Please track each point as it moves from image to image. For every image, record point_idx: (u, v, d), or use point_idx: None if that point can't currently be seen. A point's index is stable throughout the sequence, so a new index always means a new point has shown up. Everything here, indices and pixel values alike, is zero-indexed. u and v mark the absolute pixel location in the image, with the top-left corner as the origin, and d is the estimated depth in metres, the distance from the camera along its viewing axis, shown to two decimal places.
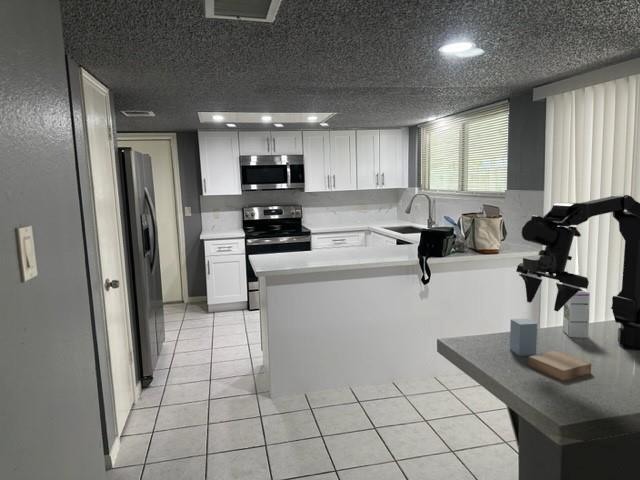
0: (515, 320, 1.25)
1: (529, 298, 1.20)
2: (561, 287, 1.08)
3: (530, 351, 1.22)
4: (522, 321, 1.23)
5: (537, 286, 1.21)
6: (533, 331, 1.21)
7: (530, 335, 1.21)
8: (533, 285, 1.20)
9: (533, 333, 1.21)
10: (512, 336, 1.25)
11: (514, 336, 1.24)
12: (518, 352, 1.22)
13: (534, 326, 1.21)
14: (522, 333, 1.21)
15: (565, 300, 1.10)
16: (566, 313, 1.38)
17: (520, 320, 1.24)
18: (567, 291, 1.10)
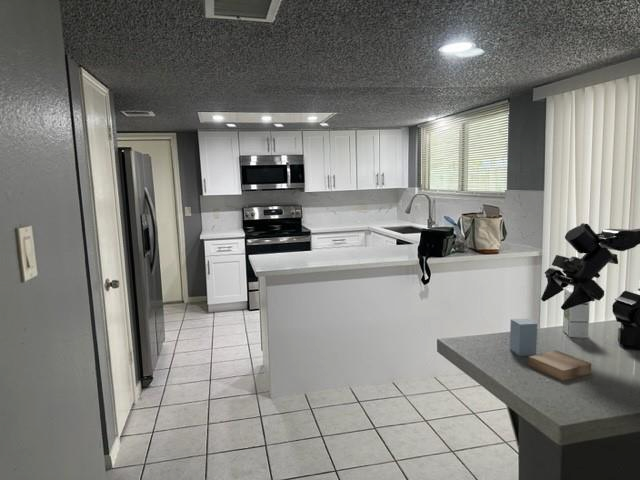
0: (515, 320, 1.24)
1: (544, 297, 1.28)
2: (577, 288, 1.17)
3: (530, 351, 1.22)
4: (522, 321, 1.23)
5: (556, 292, 1.28)
6: (533, 331, 1.21)
7: (530, 335, 1.21)
8: (553, 289, 1.28)
9: (533, 333, 1.21)
10: (512, 336, 1.25)
11: (514, 336, 1.24)
12: (518, 352, 1.22)
13: (534, 326, 1.21)
14: (522, 333, 1.21)
15: (575, 303, 1.18)
16: (566, 313, 1.38)
17: (520, 320, 1.24)
18: (580, 296, 1.18)
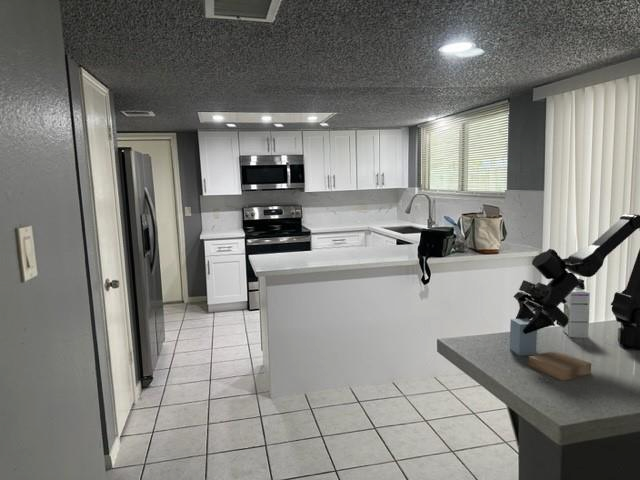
0: (515, 320, 1.24)
1: None
2: (538, 313, 1.19)
3: (530, 351, 1.22)
4: (521, 321, 1.23)
5: (528, 318, 1.27)
6: (533, 331, 1.21)
7: (530, 335, 1.21)
8: (525, 315, 1.26)
9: (533, 333, 1.21)
10: (512, 336, 1.25)
11: (514, 336, 1.24)
12: (518, 352, 1.22)
13: None
14: (522, 332, 1.21)
15: (536, 327, 1.20)
16: (566, 313, 1.38)
17: (520, 320, 1.24)
18: (541, 320, 1.20)
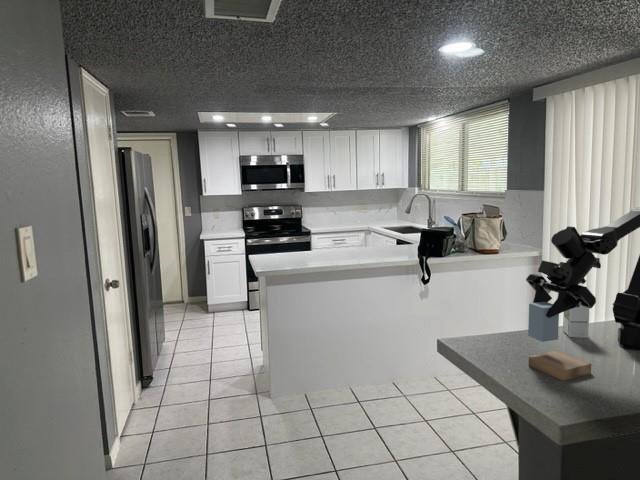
0: (535, 304, 1.16)
1: None
2: (562, 295, 1.11)
3: (552, 336, 1.14)
4: (542, 304, 1.15)
5: (545, 301, 1.19)
6: None
7: (552, 318, 1.13)
8: (542, 298, 1.18)
9: (555, 316, 1.14)
10: (531, 321, 1.16)
11: (535, 321, 1.15)
12: (541, 338, 1.13)
13: None
14: (545, 317, 1.13)
15: (560, 310, 1.12)
16: (566, 313, 1.38)
17: (539, 303, 1.16)
18: (565, 302, 1.12)
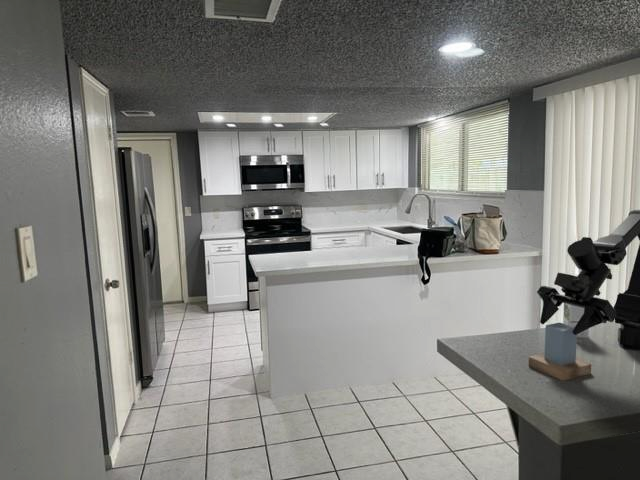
0: (552, 326, 1.11)
1: (543, 319, 1.15)
2: (590, 310, 1.05)
3: (571, 359, 1.10)
4: (560, 327, 1.10)
5: (553, 312, 1.16)
6: (574, 336, 1.09)
7: (571, 341, 1.09)
8: (550, 309, 1.16)
9: (573, 339, 1.09)
10: (548, 344, 1.12)
11: (552, 344, 1.10)
12: (560, 362, 1.09)
13: None
14: (565, 340, 1.08)
15: (586, 326, 1.06)
16: (566, 313, 1.38)
17: (556, 325, 1.11)
18: (591, 318, 1.06)
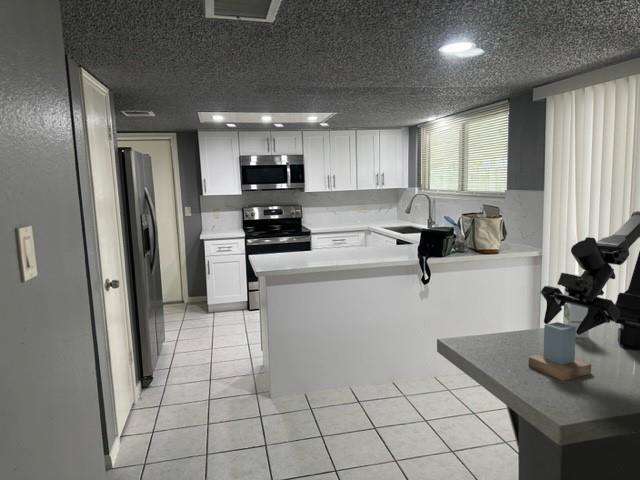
0: (550, 325, 1.12)
1: (547, 319, 1.15)
2: (593, 310, 1.05)
3: (570, 359, 1.10)
4: (558, 326, 1.11)
5: (556, 312, 1.17)
6: (572, 336, 1.10)
7: (570, 340, 1.10)
8: (554, 309, 1.16)
9: (572, 338, 1.10)
10: (547, 344, 1.12)
11: (552, 344, 1.11)
12: (559, 361, 1.09)
13: (573, 330, 1.10)
14: (564, 339, 1.09)
15: (590, 326, 1.07)
16: (566, 313, 1.38)
17: (555, 325, 1.12)
18: (594, 318, 1.07)
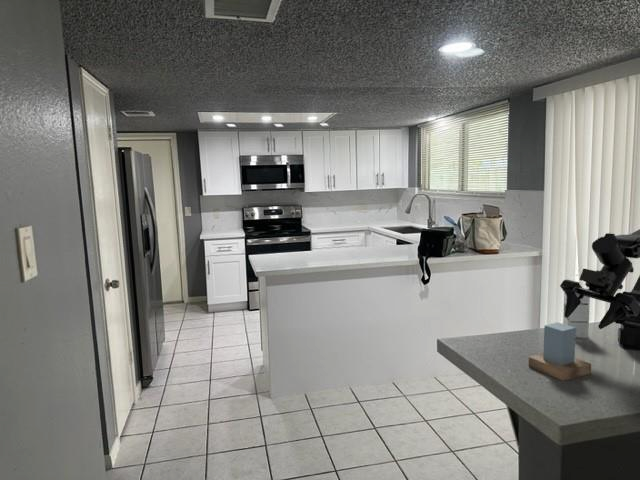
0: (551, 326, 1.11)
1: (567, 313, 1.19)
2: (615, 306, 1.09)
3: (570, 359, 1.10)
4: (558, 327, 1.10)
5: (576, 305, 1.20)
6: (572, 336, 1.09)
7: (570, 341, 1.09)
8: (574, 303, 1.20)
9: (572, 338, 1.09)
10: (548, 344, 1.11)
11: (552, 344, 1.10)
12: (560, 362, 1.09)
13: (573, 331, 1.09)
14: (564, 340, 1.08)
15: (611, 321, 1.10)
16: None
17: (555, 325, 1.11)
18: (616, 312, 1.11)
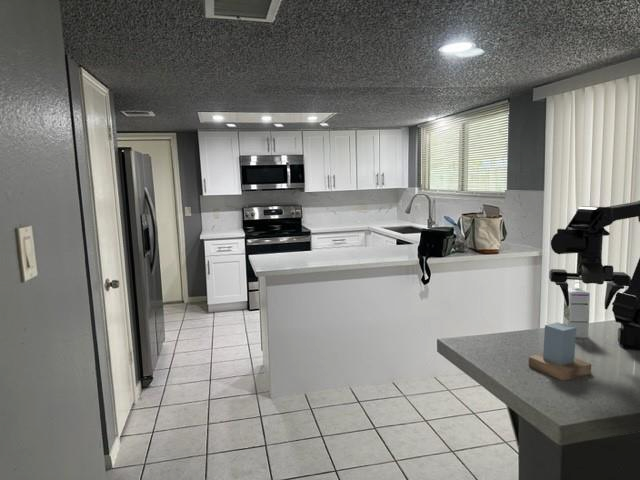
0: (551, 326, 1.11)
1: (568, 302, 1.23)
2: (617, 289, 1.16)
3: (570, 359, 1.10)
4: (559, 326, 1.10)
5: None
6: (573, 336, 1.09)
7: (570, 341, 1.09)
8: None
9: (572, 339, 1.10)
10: (548, 344, 1.11)
11: (552, 344, 1.10)
12: (560, 362, 1.09)
13: (574, 331, 1.09)
14: (565, 340, 1.08)
15: None
16: (566, 313, 1.38)
17: (555, 325, 1.11)
18: None
